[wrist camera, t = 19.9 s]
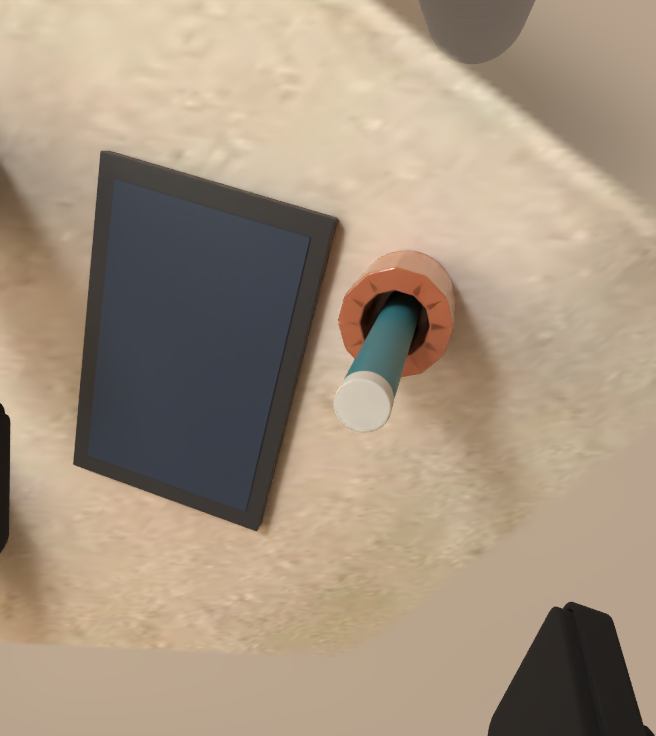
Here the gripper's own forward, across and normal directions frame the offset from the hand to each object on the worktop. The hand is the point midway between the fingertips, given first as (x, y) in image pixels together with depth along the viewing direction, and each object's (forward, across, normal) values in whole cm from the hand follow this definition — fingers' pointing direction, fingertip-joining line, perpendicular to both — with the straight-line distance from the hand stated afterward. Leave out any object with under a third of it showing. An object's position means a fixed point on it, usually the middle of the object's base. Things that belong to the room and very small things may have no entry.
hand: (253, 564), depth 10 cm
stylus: (+22, -1, +2) cm, 22 cm away
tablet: (+22, +10, +8) cm, 26 cm away
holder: (+23, -1, +1) cm, 23 cm away
